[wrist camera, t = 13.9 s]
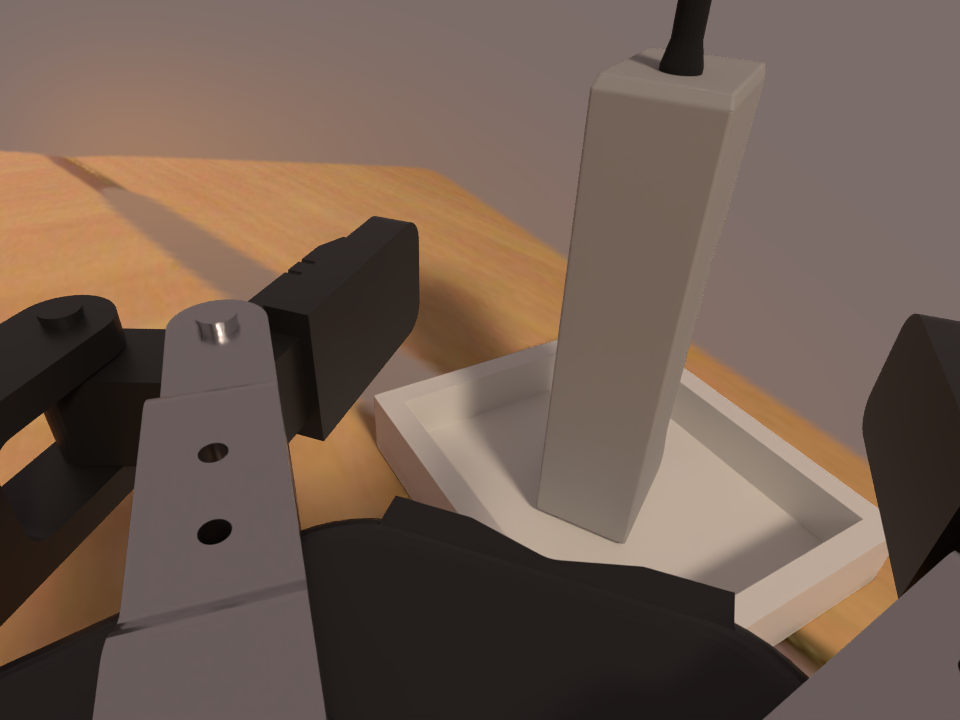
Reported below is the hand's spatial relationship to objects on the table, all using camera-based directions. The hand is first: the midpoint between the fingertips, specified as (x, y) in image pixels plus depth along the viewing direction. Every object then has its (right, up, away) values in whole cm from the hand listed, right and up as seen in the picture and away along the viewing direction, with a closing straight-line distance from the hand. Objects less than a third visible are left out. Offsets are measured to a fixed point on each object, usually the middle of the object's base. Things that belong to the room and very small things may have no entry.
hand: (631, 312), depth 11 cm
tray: (+3, -7, +17) cm, 19 cm away
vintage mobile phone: (+2, -7, +17) cm, 18 cm away
